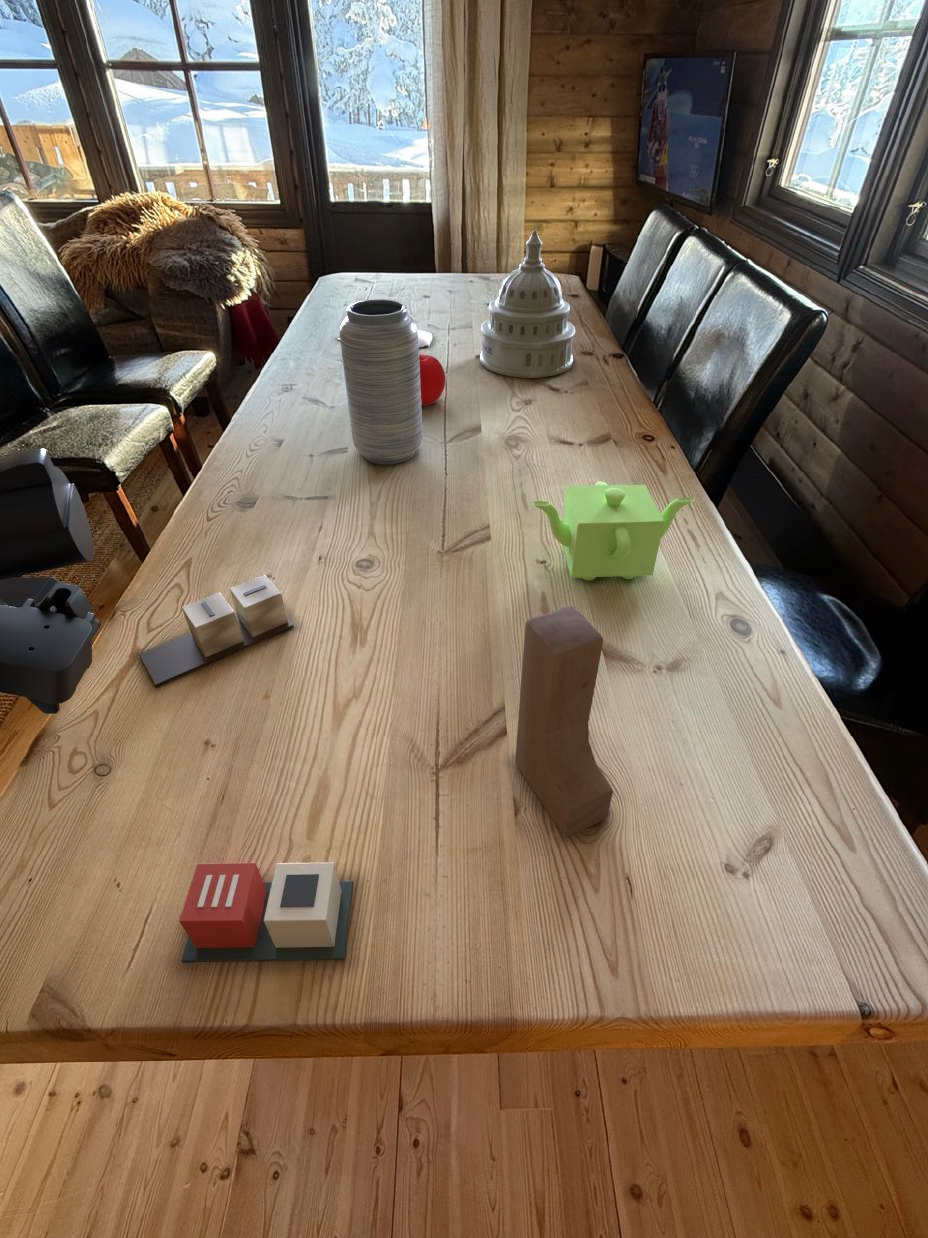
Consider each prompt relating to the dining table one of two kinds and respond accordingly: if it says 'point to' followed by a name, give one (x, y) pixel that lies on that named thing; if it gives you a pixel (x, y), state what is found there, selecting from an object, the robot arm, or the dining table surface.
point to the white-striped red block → (224, 905)
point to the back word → (220, 629)
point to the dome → (528, 322)
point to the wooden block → (561, 719)
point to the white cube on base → (294, 919)
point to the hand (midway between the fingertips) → (23, 760)
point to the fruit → (431, 379)
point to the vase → (382, 380)
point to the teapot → (610, 529)
